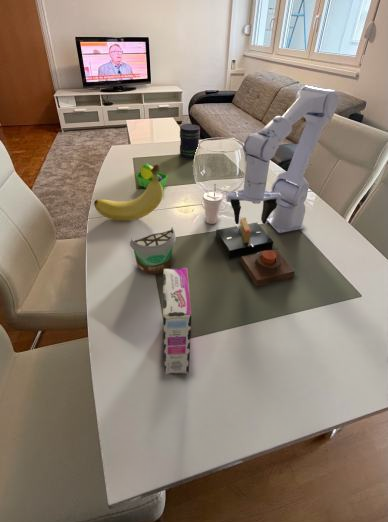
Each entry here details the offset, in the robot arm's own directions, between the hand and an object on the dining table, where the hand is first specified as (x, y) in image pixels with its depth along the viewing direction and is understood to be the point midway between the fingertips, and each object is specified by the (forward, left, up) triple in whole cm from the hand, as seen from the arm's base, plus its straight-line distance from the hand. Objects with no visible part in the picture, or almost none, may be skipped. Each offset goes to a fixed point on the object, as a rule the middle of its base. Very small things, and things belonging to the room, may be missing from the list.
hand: (249, 221), depth 85 cm
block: (-1, +10, -9) cm, 14 cm away
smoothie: (+5, -16, -9) cm, 19 cm away
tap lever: (0, -2, -6) cm, 6 cm away
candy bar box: (+28, +24, -9) cm, 38 cm away
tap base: (0, -2, -9) cm, 9 cm away
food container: (+27, +1, -9) cm, 29 cm away
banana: (+31, -25, -9) cm, 41 cm away
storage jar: (-5, -73, -9) cm, 74 cm away
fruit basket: (+20, -45, -9) cm, 50 cm away
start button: (-1, +10, -6) cm, 11 cm away
